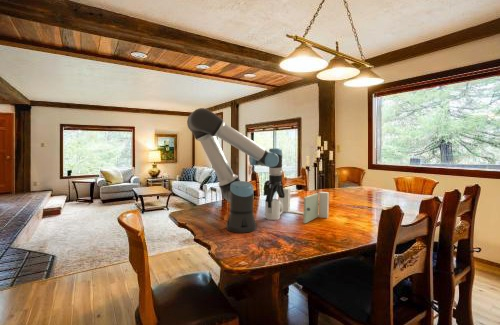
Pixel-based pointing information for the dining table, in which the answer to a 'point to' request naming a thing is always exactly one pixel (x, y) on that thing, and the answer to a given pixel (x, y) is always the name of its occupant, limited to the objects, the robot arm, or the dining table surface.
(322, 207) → the wall frame
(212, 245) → the dining table surface
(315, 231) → the dining table surface
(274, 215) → the mug
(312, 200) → the door
